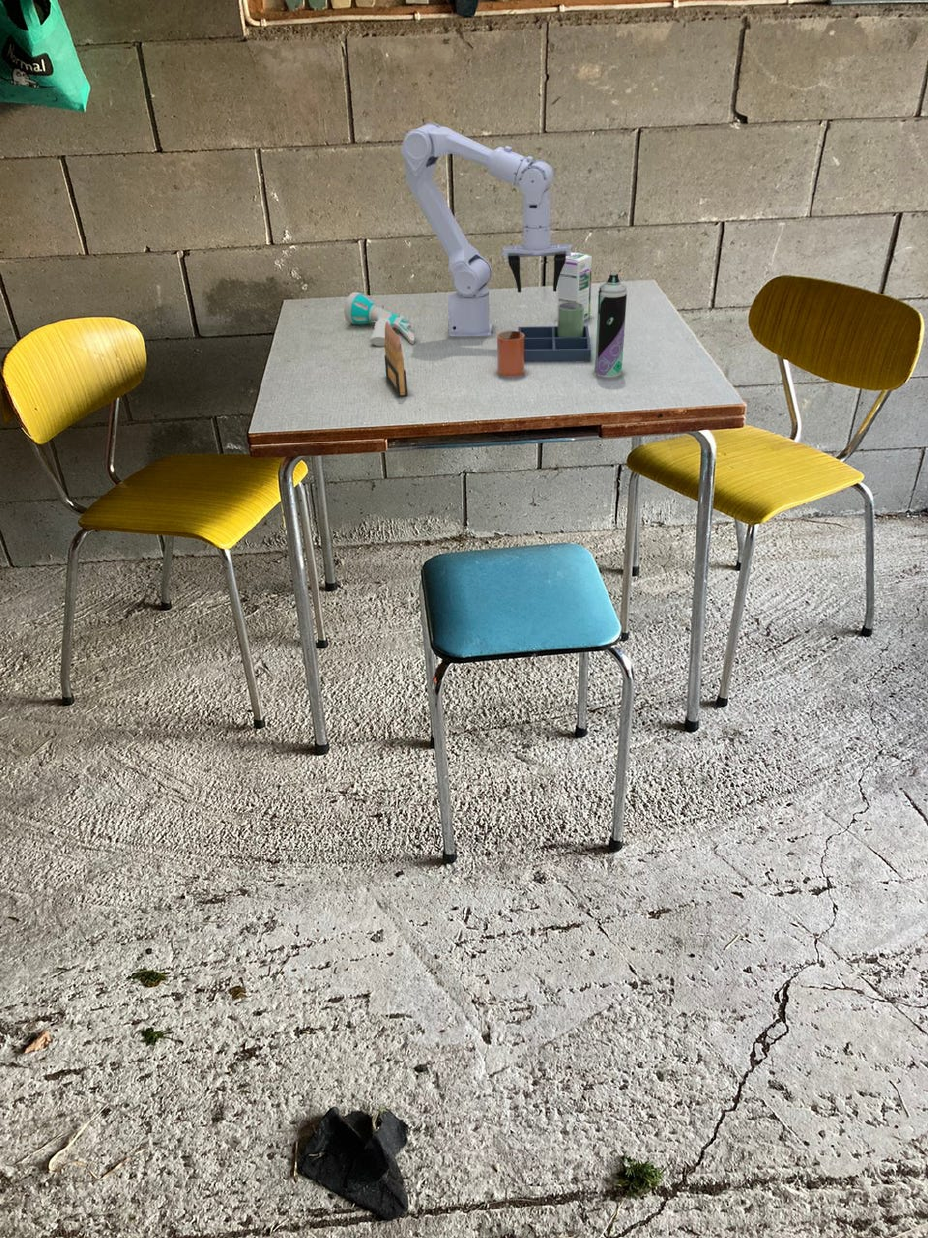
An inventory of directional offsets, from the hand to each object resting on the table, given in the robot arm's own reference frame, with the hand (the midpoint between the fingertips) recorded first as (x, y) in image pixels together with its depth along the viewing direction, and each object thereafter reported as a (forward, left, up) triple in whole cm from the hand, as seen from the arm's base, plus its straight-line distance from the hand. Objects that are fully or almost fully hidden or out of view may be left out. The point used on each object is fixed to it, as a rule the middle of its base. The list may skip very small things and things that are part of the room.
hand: (537, 290), depth 206 cm
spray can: (+15, -23, -11) cm, 29 cm away
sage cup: (+7, -5, -10) cm, 13 cm away
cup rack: (+4, -9, -10) cm, 14 cm away
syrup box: (+9, +12, -11) cm, 18 cm away
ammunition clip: (-28, -29, -11) cm, 42 cm away
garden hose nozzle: (-36, +5, -11) cm, 38 cm away
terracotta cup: (-5, -22, -10) cm, 25 cm away
